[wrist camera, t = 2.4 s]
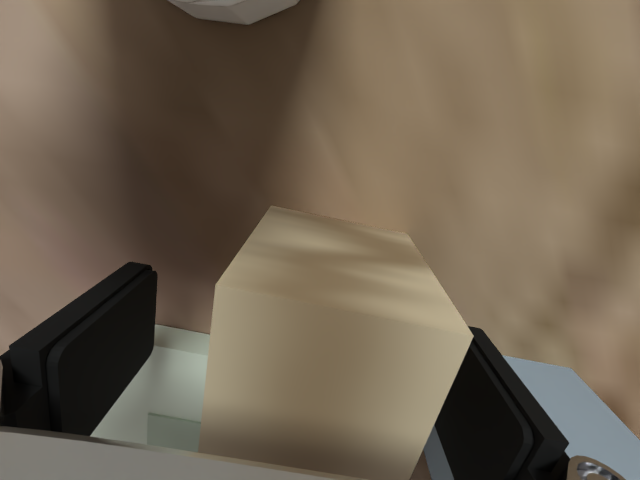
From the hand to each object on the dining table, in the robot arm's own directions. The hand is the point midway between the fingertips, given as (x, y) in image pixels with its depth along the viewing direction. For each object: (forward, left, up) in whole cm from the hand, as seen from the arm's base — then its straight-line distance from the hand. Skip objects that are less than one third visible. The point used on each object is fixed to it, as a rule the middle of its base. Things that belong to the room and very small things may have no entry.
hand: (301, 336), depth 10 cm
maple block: (-1, -1, -3) cm, 3 cm away
